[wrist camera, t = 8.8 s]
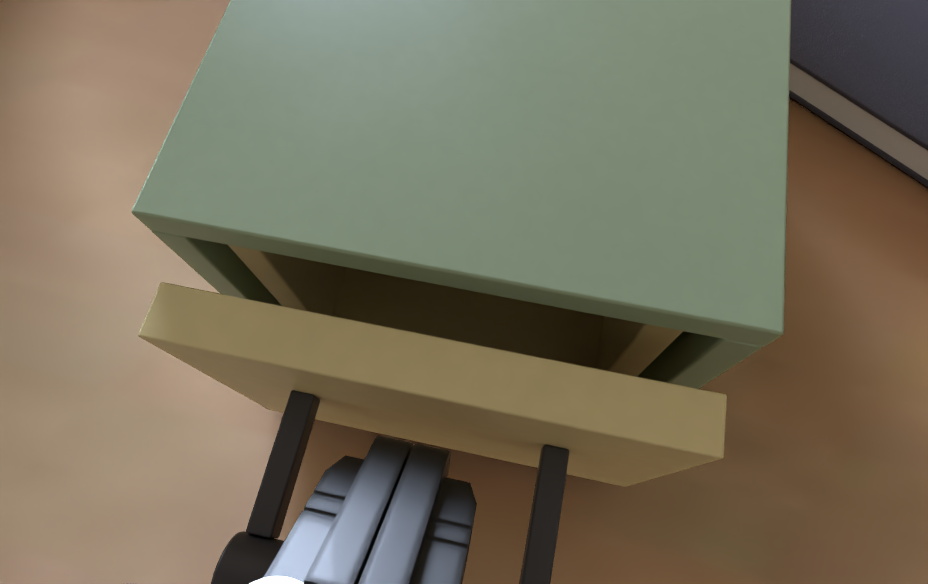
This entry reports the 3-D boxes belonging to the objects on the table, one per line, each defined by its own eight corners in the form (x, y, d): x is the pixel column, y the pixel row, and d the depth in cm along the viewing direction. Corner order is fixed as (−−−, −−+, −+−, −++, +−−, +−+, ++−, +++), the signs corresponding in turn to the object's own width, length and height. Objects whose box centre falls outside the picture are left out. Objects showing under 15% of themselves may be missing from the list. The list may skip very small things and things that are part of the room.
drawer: (606, 668, 16) (706, 781, 9) (213, 571, 17) (21, 601, 10) (666, 122, 23) (753, -69, 15) (377, 77, 24) (332, -120, 17)
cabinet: (646, 423, 20) (785, 335, 11) (280, 348, 21) (129, 212, 12) (682, 73, 25) (796, -186, 16) (387, 30, 26) (338, -232, 17)
